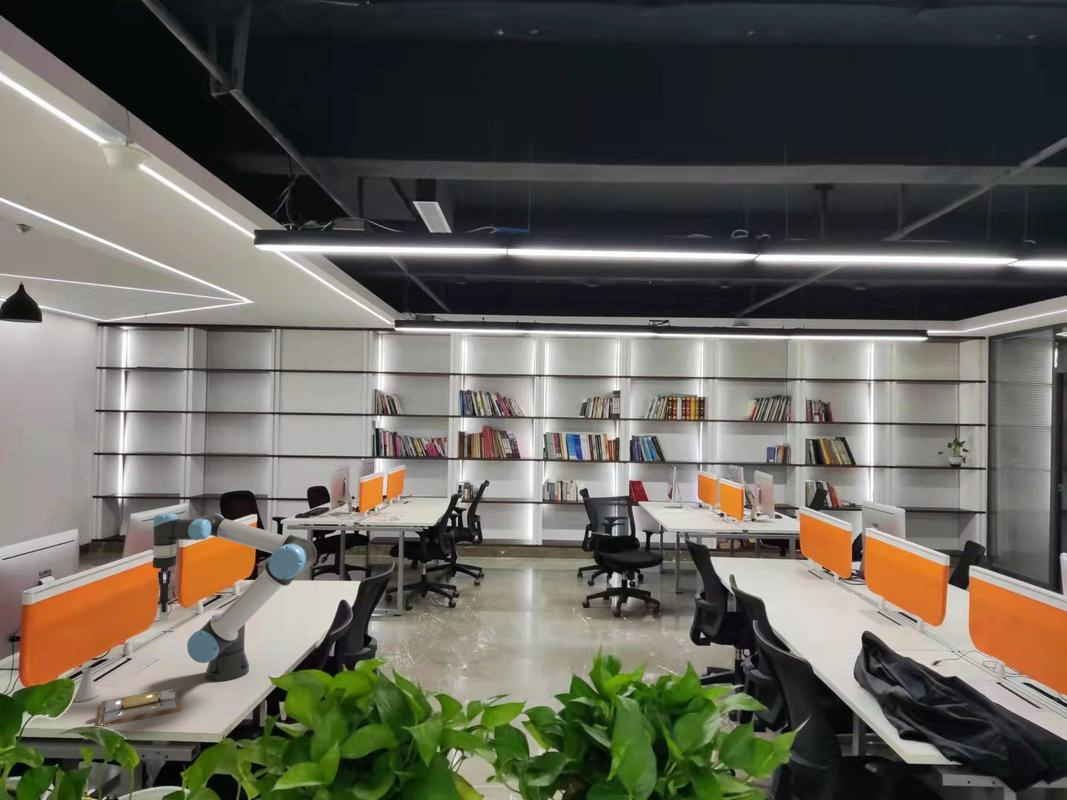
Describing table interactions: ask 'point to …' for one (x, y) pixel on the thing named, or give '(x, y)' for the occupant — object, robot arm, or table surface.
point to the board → (178, 708)
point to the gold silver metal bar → (140, 700)
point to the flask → (86, 687)
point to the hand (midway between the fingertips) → (163, 620)
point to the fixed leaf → (115, 707)
